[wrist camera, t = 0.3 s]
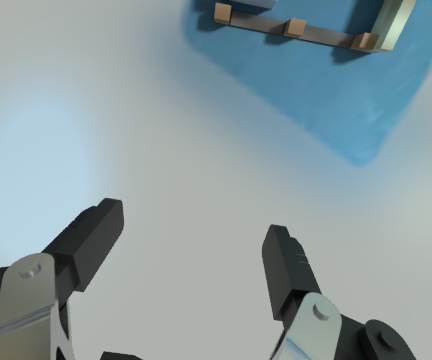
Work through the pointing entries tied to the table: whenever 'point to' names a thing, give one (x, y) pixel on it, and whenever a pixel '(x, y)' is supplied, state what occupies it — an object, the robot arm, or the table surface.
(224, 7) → the lane
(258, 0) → the brick
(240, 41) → the table surface
